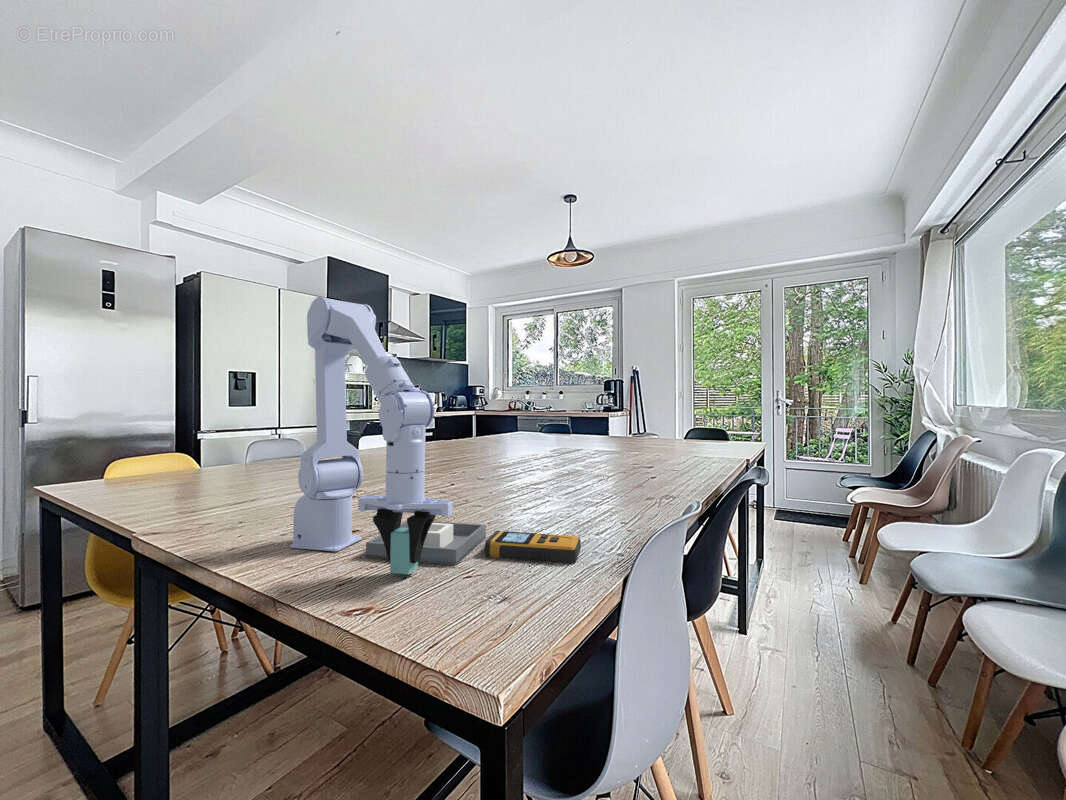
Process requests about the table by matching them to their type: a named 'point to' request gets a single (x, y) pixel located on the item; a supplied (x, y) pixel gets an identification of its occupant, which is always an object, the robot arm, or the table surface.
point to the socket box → (439, 542)
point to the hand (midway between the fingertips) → (404, 560)
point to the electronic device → (533, 547)
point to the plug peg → (401, 552)
